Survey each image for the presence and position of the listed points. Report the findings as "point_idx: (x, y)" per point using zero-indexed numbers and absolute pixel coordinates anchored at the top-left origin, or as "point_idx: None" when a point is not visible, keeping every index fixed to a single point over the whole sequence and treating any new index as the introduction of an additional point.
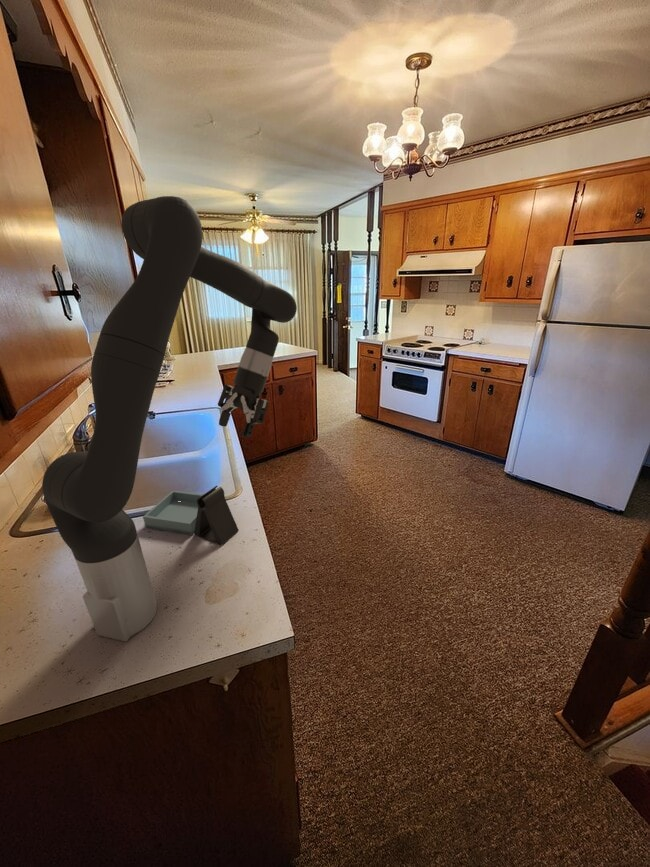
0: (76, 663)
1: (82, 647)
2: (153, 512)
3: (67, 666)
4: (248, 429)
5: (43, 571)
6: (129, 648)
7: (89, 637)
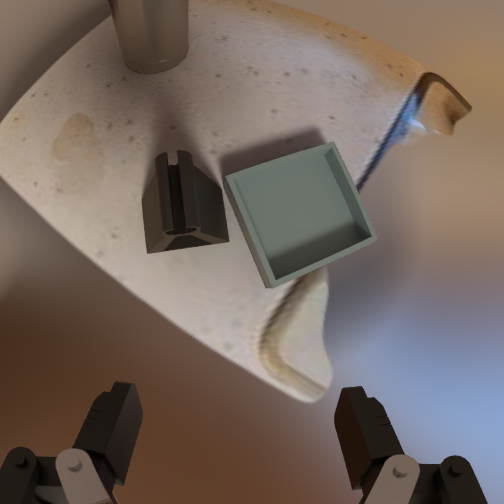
0: None
1: None
2: (338, 167)
3: None
4: (86, 422)
5: (334, 43)
6: None
7: None
